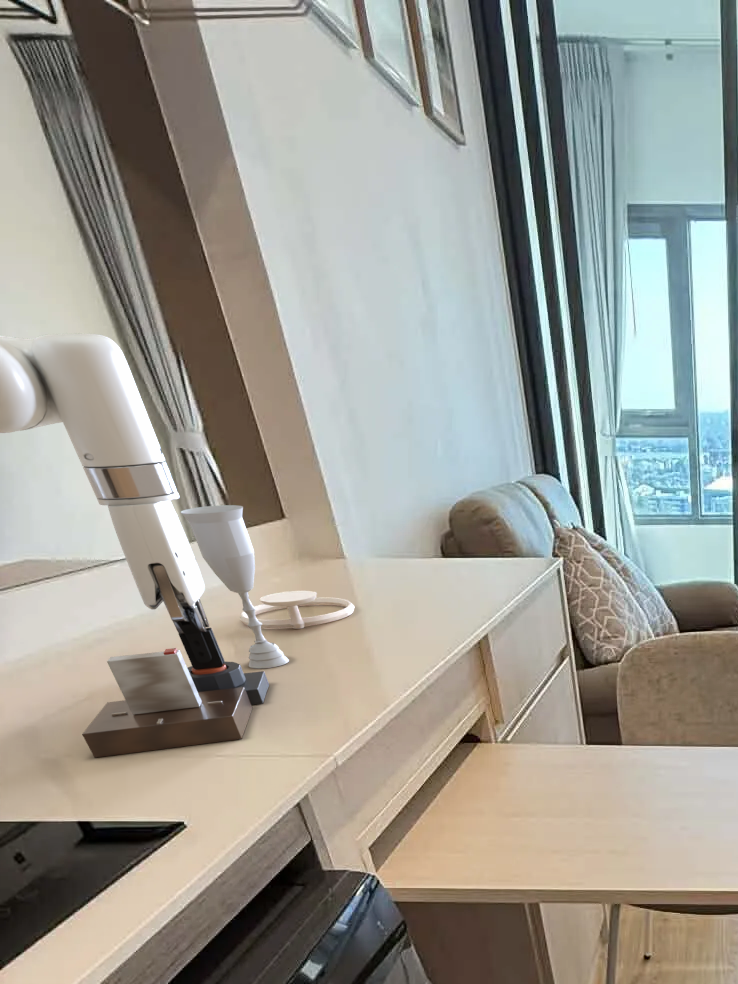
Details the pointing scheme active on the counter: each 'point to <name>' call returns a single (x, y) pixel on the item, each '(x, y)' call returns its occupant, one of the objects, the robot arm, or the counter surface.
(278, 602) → the hand towel holder
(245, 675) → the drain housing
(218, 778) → the counter surface
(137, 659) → the grey metal plate
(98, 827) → the counter surface
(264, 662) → the chalice
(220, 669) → the button
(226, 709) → the block
